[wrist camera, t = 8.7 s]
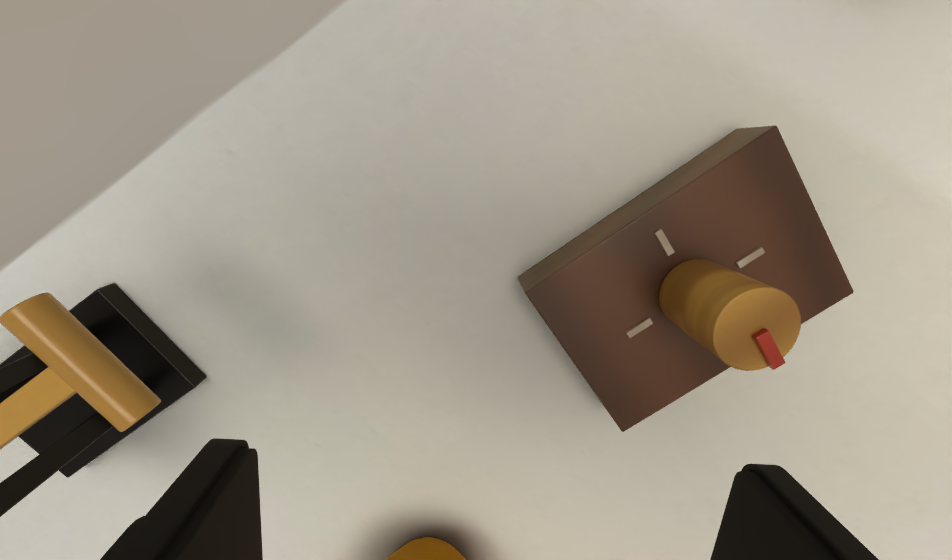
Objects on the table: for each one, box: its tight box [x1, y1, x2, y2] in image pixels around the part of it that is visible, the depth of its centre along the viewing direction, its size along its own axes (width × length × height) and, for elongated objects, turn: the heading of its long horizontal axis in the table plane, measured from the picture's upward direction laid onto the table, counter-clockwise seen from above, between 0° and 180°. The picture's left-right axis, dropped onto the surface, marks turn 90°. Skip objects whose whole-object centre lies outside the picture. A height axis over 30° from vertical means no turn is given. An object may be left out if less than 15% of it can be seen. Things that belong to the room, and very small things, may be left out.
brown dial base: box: [518, 126, 853, 432], centre depth 24 cm, size 14×10×3 cm
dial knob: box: [659, 259, 801, 371], centre depth 20 cm, size 4×4×5 cm
